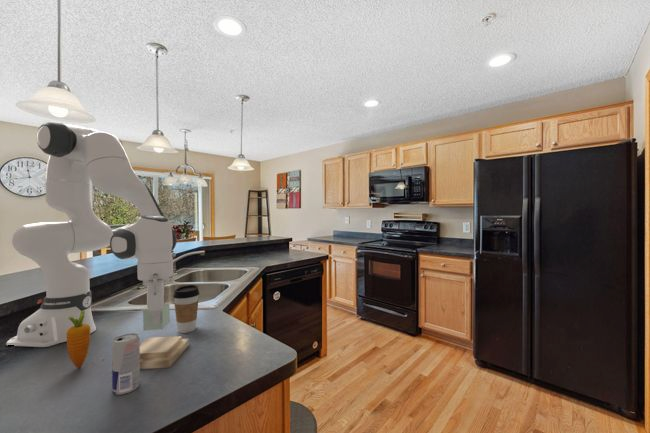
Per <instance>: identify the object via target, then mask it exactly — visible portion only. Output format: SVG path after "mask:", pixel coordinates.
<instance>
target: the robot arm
mask: <svg viewBox="0 0 650 433" xmlns="http://www.w3.org/2000/svg"><path fill="white" fill-rule="evenodd" d="M37 129H38V130H37V132H36V141H37V142H36V143H37V146H38V147H39V149H40V150H41V151H42V152H43V153H44V154H46V155H49V157H48V160H47V164H46V172H45V202H46V204H47V205H48V206H49V207H50V208H51V209H54V210H56V211H58V212H62V213H64V214H65V215H67V218H68V221H46V222H45V221H44V222H35V223H28V224H24V225H21V226H20V227H18V228H17V229H16V230H15V231H14V233H13V235H12V239H11V244H12V247H13V248H14V250H15V251H16V252H17V253H18V254H20V255H22V256H23V257H27V258H29V259H31V261H33V262H34V263H36V264H37V265H38V266H39V268H40V269H41V271H42V273H43V275H44V282H45V292H46V293H45V294H46V296H44V297H42V298H40V299H38V300H36V301H37V303H36V304H40V303H41V305H40V308H38V309H37V310H36V311H35V312H34V313H32V314H31V315H29V316H27V317H26V318H24V319H23V320H22V321H21V322H20V323H19V326H18V328H17V331H16V332H17V334H16V336H13V337H11V338H9V340H7V341H6V344H5V345H6V346H8V345H14V346H13V347H33V348H47V347H52V346H55V345H58V344H61V343H64V342H65V343H67V331H68V329H69V328H70V327H72V326H75V325H74V324H73V323H72V321H71V320H70V319H68V317H73V318H74V319H77V320H78V319H79V317H80V314H81V311H85V314H84V319H83V322H82V324H88V325H89V326H90V334H92V333H94V332H95V331H96V330H97V327H96V325H95V322H94V318H93V314H92V309H91V308H92V290H91V289H90V284H91V283H90V270H89V268H87V267H86V266H85V265H82V264H80V263H77V262H74V261H73V262H72V261H70V259H69V258H68V255H69V254H77V253H86V252H87V253H88V252H89V253H90V252H95V251H98V250H102V249H105V248H108V247H110V250H111V253H112V254H113V256H115V257H116V258H118V259H120V260H128V261H129V260H136V259H137V262H136V263H137V274H136V275H137V280H139V281H142V285H144V286H146V307H147V311H148V313H151V314H152V323H153V324H159V323H160V312H161V311H163V308H164V303H165V302H164V298H165V296H164V295H165V288H166V287H165V286H166V284H167V283H168V282H169V278H172V277H173V276H174V257H173V255H172V252H173V251H174V249H175V248H176V245H177V242H178V236H177V234H176V232H175V230H174V228H172V224H171V221H170V219H169V218H167V217H166V216H165V215H164V213H163V211H162V209H161V208H160V206H159V204H158V202H157V199H156V198H155V196H154V195H153V192H152V191H151V189H150V188H149V186H148V185H147V184H146V183H144V182H143V181H142V180H141V179H140V177H138V175H137V173H136V172H135V171H134V169H133V167H132V165H131V162H130V159H129V157H128V155H127V153H126V150H125V149H124V144H123V142H122V141H121V139H120V137H117V136H115V135H114V134H112V133H109V132H105V131H102V130H101V131H100V130H97V129H94V128H90V127H87V126H79V125H74V124H73V125H72V124H68V123H67V124H66V123H63V122H59V121H46V122H43V124H41V125H39V128H37ZM90 181H91V183H92V185H94V187H95V188H96V189H97V190H99V191H101V192H103V193H105V194H107V195H109V196H110V195H111V196H113V197H115V198H116V197H117V198H119V199H122V200H125V201H127V202H129V203H130V204H132V205H134V206H135V207H136V208H137V209H138V211H139V214H140V215H141V216H139V217H138V219H137V221H135V222H134V223H132V224H130V225H128V226H124V227H121V228H118V229H117V230H115V231H114V230H112V228H111V226H110V225H109V224H108V223H106V222H104V221H103V220H102V219H101V218H99V216H97V214H96V213H95V212H94V209H93V208H92V204H91V203H92V202H91V192H90V191H91V189H90V188H91V187H90V184H91V183H90ZM113 231H114V232H113Z"/></svg>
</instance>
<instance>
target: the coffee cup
mask: <svg viewBox="0 0 650 433" xmlns="http://www.w3.org/2000/svg"><path fill="white" fill-rule="evenodd" d="M199 295H200V291H199V287H198V285H196V284H195V285H194V284H187V285H183V286H179V287H177V288H176V289H175V290H174V293H173V296H172V297H173V298H174V311H175V312H174V313H175V320H176V326H177V327H176V328H177V333H180V334H186V333H190V332H191V333H192V332H193V331H196V328H197V320H198V319H197V318H198V307H199Z"/></svg>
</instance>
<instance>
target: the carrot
mask: <svg viewBox="0 0 650 433" xmlns="http://www.w3.org/2000/svg"><path fill="white" fill-rule="evenodd" d="M84 314H85V311H81V314H80V317H79V319H78V320H77V319H74V318H73V317H68V319H70V320H71V321H72V323H73V324H74V325H75V326H72V327H70V328H69V329H68V331H67V341H66V347H67V353H68V356H69V359H70V361H71V362H72V364H73V365H74V366H75V368H77V369H80V368H81V367H82V366H83V364H84V363H85V360H86V358H87V356H88V353H89V352H88V351H89V349H90V348H89V347H90V343H91V341H90V340H91V333H90V326H89V325H88V324H82V322H83V319H84Z"/></svg>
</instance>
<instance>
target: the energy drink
mask: <svg viewBox="0 0 650 433" xmlns="http://www.w3.org/2000/svg"><path fill="white" fill-rule="evenodd" d="M140 344H141V343H140V336H139V334H138V333H126V334H121V335H119V336H117V337H114V338H113V340H112V343H111V390H112V393H113V394H114V395H116V396H121V395H126V393H127V394H129V393H131V392H133V391H136V390H137V388H139V386H140V385H141V369H140Z"/></svg>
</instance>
